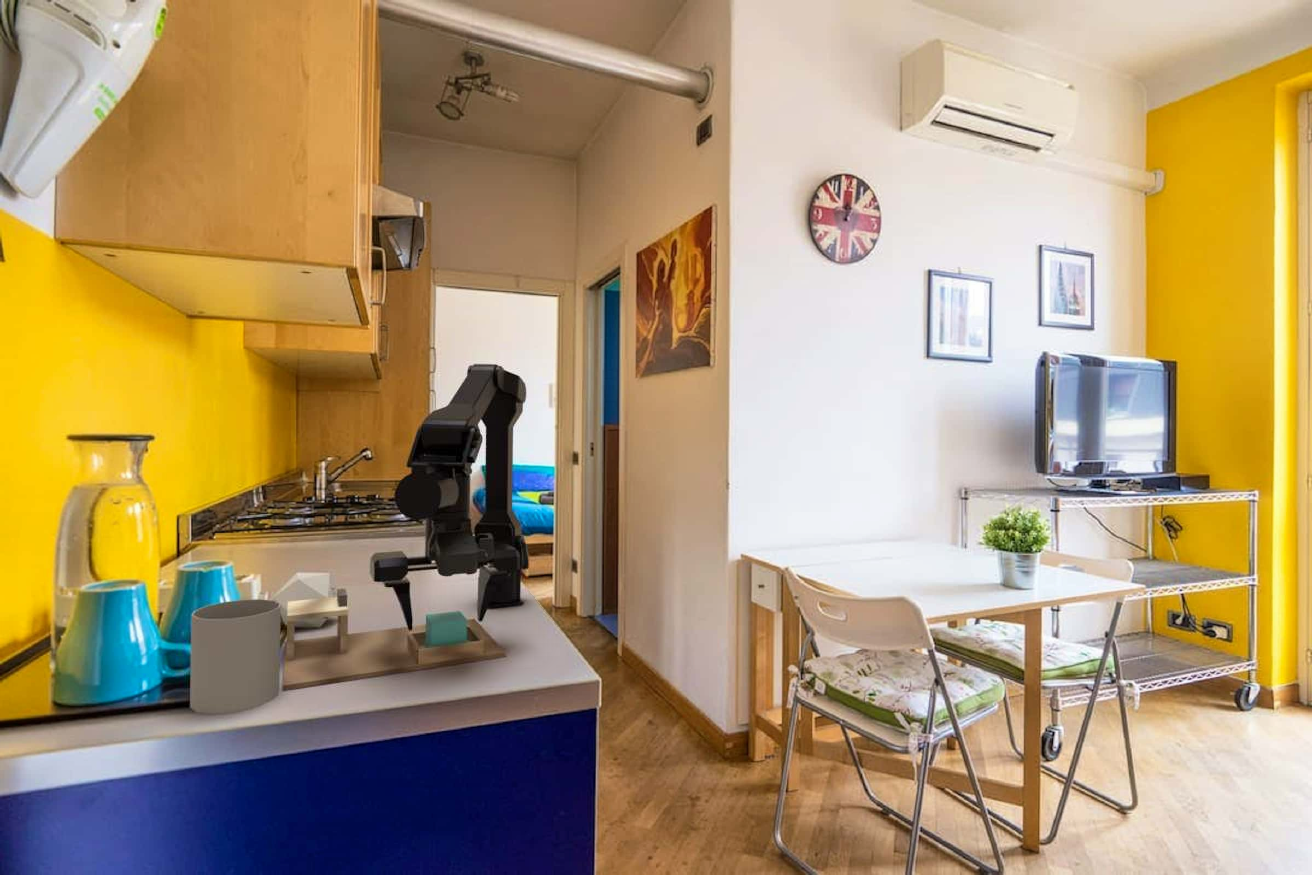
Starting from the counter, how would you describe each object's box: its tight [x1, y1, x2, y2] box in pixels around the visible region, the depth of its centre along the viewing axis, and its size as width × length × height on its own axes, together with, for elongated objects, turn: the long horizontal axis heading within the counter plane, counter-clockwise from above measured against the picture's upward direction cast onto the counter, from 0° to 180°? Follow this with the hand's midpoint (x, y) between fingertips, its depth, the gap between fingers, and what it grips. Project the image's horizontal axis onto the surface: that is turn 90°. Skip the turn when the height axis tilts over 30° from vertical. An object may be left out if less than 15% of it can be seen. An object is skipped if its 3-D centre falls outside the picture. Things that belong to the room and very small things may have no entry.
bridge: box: [286, 588, 349, 660], centre depth 88 cm, size 7×8×7 cm
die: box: [272, 572, 338, 628], centre depth 100 cm, size 8×9×10 cm
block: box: [425, 610, 468, 648], centre depth 88 cm, size 4×4×4 cm
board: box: [282, 618, 506, 692], centre depth 89 cm, size 26×17×2 cm, turn 119°
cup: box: [189, 598, 281, 715], centre depth 73 cm, size 8×8×10 cm
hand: (445, 625), depth 88 cm, fingers open, 9 cm apart
